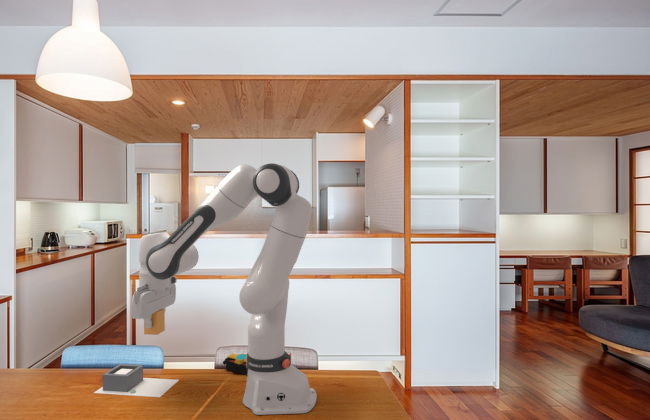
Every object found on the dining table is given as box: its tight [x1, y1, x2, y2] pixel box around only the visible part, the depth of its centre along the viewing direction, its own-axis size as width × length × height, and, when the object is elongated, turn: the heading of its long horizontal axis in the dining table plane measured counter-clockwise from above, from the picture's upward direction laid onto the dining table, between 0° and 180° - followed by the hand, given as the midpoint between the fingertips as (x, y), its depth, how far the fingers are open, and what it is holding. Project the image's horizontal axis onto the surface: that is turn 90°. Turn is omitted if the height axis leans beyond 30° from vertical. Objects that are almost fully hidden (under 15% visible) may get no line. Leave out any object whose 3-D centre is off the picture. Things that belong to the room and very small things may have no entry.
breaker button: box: [114, 369, 133, 375], centre depth 127 cm, size 4×4×4 cm
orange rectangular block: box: [143, 308, 166, 336], centre depth 126 cm, size 4×4×7 cm
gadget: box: [222, 352, 248, 375], centre depth 140 cm, size 6×13×6 cm, turn 77°
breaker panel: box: [93, 363, 180, 398], centre depth 127 cm, size 22×12×6 cm, turn 83°
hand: (154, 325), depth 126 cm, fingers closed on orange rectangular block, 4 cm apart
